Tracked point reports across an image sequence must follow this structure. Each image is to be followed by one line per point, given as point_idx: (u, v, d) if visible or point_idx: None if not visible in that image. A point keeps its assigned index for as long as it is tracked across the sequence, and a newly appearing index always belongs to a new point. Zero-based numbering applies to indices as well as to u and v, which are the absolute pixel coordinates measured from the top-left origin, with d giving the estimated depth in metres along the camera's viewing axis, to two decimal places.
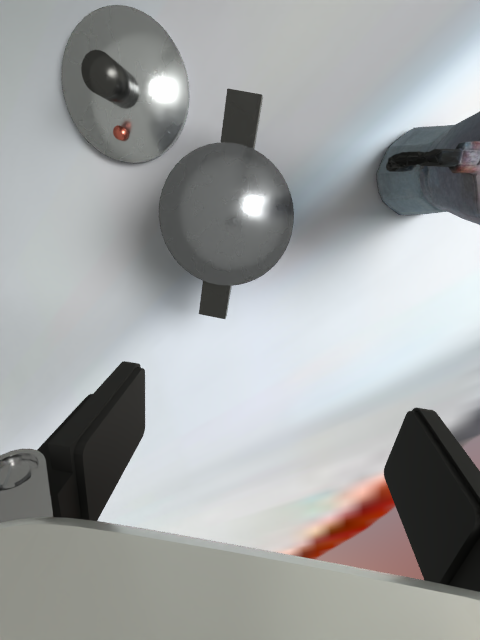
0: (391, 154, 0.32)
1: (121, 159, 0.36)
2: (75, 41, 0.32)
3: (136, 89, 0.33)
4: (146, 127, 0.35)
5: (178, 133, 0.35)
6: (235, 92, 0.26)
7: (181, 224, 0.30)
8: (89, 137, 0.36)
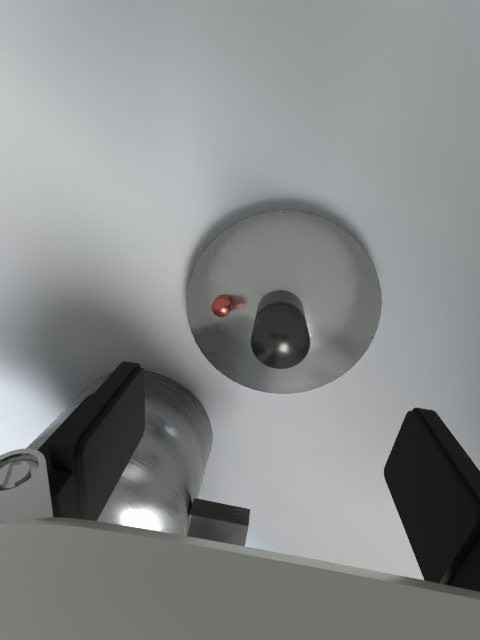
0: None
1: (189, 296, 0.23)
2: (345, 245, 0.20)
3: None
4: (233, 338, 0.24)
5: None
6: (244, 532, 0.21)
7: None
8: (215, 247, 0.21)
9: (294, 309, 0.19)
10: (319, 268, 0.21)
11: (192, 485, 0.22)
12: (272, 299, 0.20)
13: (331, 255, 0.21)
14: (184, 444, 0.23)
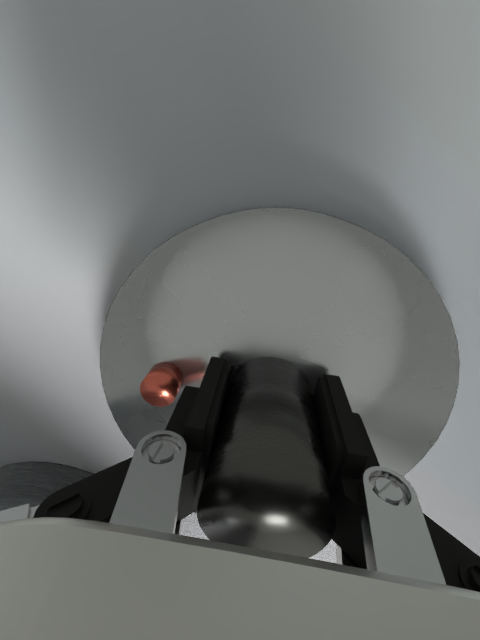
0: None
1: (104, 363, 0.13)
2: (398, 279, 0.10)
3: None
4: None
5: None
6: None
7: None
8: (144, 279, 0.11)
9: (297, 427, 0.08)
10: (343, 321, 0.11)
11: None
12: (251, 388, 0.10)
13: (368, 297, 0.10)
14: None
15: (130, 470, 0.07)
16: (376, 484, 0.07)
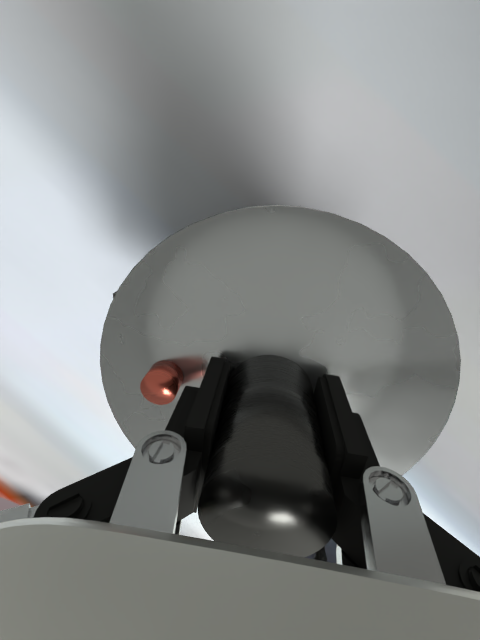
0: None
1: (104, 361, 0.13)
2: (399, 277, 0.10)
3: None
4: None
5: None
6: None
7: None
8: (144, 276, 0.11)
9: (298, 424, 0.08)
10: (344, 319, 0.11)
11: None
12: (252, 386, 0.10)
13: (369, 295, 0.10)
14: None
15: (130, 470, 0.07)
16: (376, 484, 0.07)
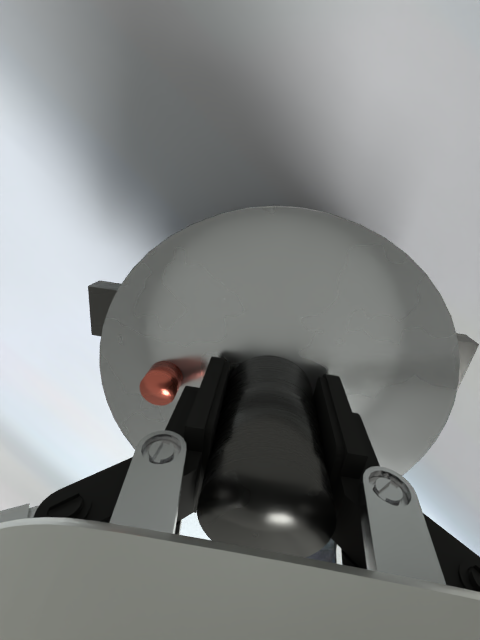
0: None
1: (103, 362, 0.13)
2: (398, 277, 0.10)
3: None
4: None
5: None
6: (469, 356, 0.16)
7: None
8: (143, 277, 0.11)
9: (297, 425, 0.08)
10: (343, 320, 0.11)
11: None
12: (251, 387, 0.10)
13: (368, 295, 0.10)
14: None
15: (130, 470, 0.07)
16: (376, 484, 0.07)
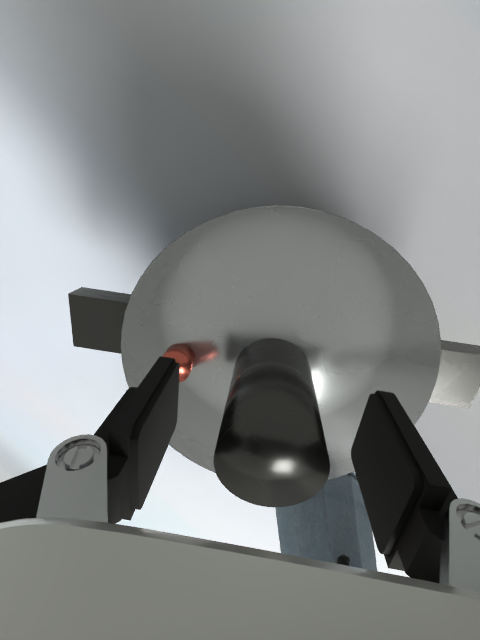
0: (343, 488, 0.27)
1: (124, 345, 0.14)
2: (386, 268, 0.12)
3: None
4: (199, 407, 0.15)
5: None
6: None
7: None
8: (162, 268, 0.13)
9: (297, 392, 0.10)
10: (338, 305, 0.12)
11: None
12: (258, 363, 0.11)
13: (360, 284, 0.12)
14: None
15: (46, 484, 0.06)
16: (465, 517, 0.07)
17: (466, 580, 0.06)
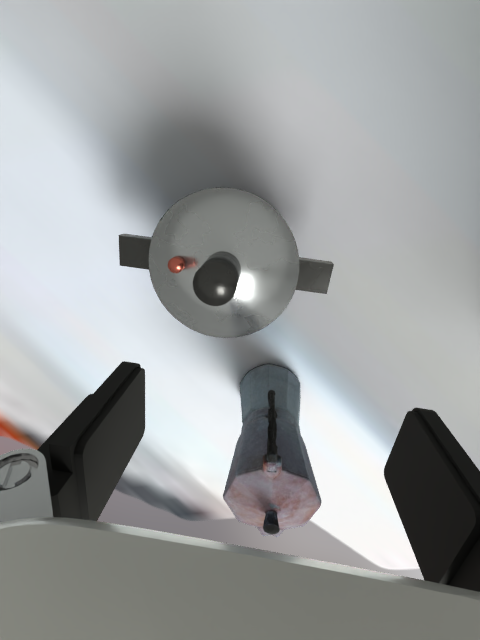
0: (282, 374, 0.42)
1: (150, 257, 0.29)
2: (269, 215, 0.26)
3: None
4: (187, 291, 0.30)
5: None
6: (330, 271, 0.30)
7: None
8: (169, 217, 0.27)
9: (226, 261, 0.25)
10: (250, 233, 0.27)
11: None
12: (212, 256, 0.26)
13: (259, 223, 0.27)
14: None
15: None
16: None
17: None
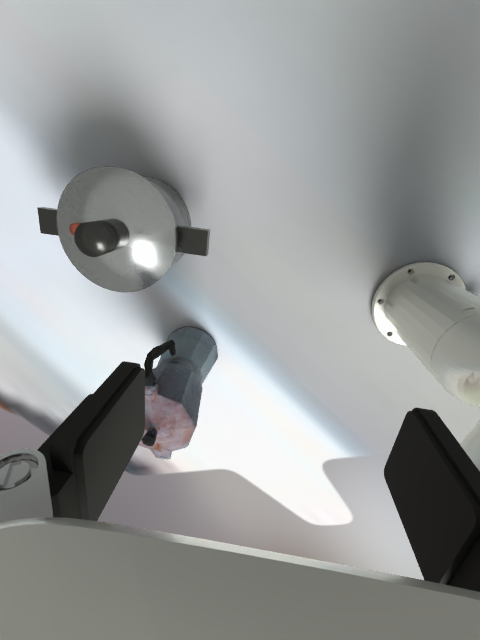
0: (196, 334, 0.48)
1: (58, 224, 0.36)
2: (144, 188, 0.33)
3: None
4: None
5: None
6: (206, 236, 0.37)
7: None
8: (69, 190, 0.34)
9: (104, 223, 0.32)
10: (132, 203, 0.34)
11: (177, 221, 0.38)
12: None
13: (137, 194, 0.34)
14: (172, 201, 0.39)
15: None
16: None
17: None
